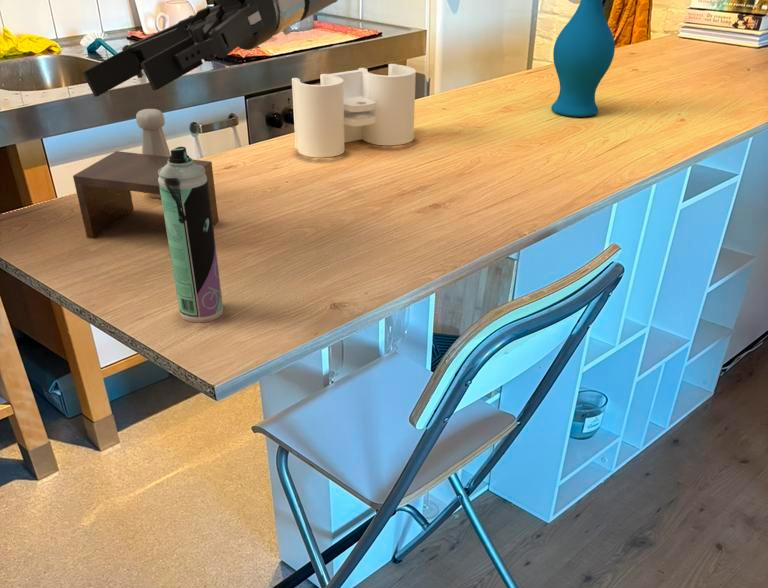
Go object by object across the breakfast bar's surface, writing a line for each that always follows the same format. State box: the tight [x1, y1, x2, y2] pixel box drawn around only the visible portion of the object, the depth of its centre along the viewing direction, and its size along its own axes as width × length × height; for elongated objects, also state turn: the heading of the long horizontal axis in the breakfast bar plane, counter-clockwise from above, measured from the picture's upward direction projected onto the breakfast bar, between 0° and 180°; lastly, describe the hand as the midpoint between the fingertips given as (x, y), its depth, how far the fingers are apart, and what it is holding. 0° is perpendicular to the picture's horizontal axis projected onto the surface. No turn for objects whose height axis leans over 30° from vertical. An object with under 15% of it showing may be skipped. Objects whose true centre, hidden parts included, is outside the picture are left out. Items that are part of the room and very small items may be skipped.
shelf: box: [72, 150, 219, 239], centre depth 121 cm, size 16×12×9 cm
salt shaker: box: [135, 108, 171, 200], centre depth 132 cm, size 6×6×13 cm
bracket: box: [291, 63, 417, 159], centre depth 154 cm, size 25×10×12 cm, turn 124°
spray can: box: [158, 146, 224, 323], centre depth 97 cm, size 6×6×20 cm
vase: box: [550, 0, 616, 118], centre depth 169 cm, size 12×13×28 cm
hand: (117, 81), depth 88 cm, fingers open, 13 cm apart
